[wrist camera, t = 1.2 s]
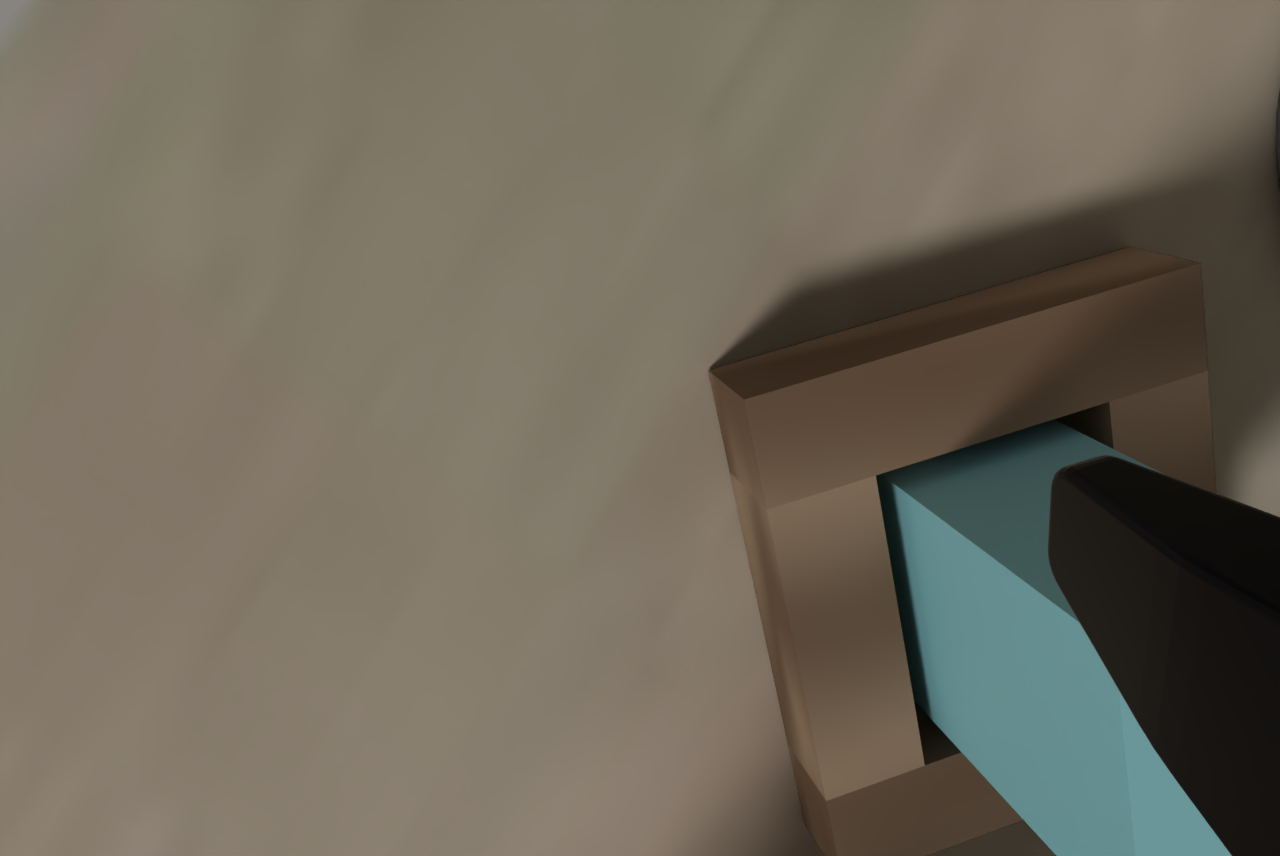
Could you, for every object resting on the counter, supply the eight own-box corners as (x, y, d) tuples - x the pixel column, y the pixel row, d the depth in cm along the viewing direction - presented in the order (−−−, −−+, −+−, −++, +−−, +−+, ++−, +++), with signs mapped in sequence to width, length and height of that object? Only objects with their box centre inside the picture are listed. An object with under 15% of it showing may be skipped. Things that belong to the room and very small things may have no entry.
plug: (1051, 629, 25) (1356, 868, 18) (897, 682, 25) (1144, 952, 17) (1024, 405, 23) (1348, 566, 16) (858, 457, 23) (1114, 648, 15)
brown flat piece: (1168, 693, 26) (1232, 742, 24) (805, 825, 25) (843, 886, 23) (1129, 246, 23) (1201, 263, 21) (708, 370, 22) (744, 399, 20)
